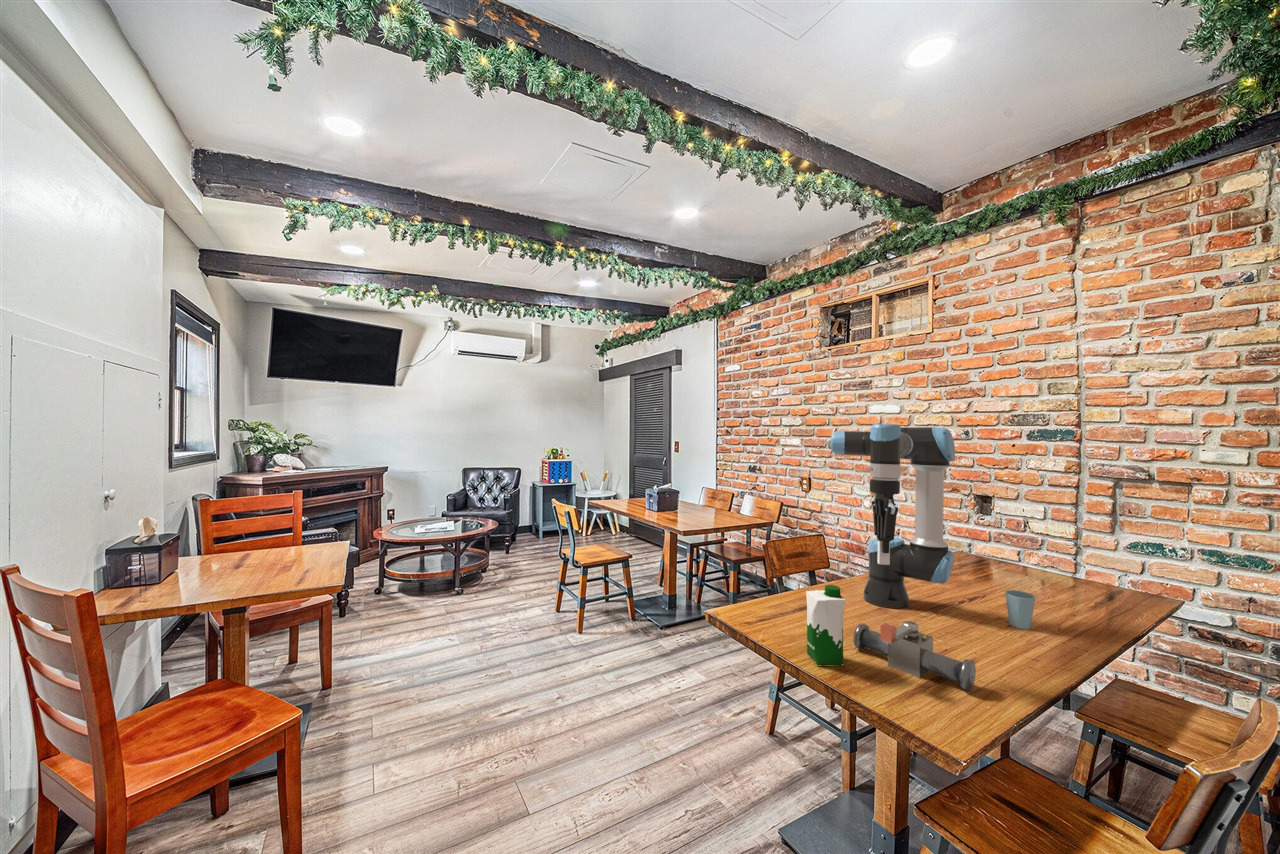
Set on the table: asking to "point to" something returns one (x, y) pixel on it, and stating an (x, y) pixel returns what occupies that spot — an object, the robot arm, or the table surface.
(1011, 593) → the cup
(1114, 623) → the table surface
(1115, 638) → the table surface
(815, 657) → the milk carton
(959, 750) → the table surface
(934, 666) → the valve body
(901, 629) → the lever
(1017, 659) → the table surface
